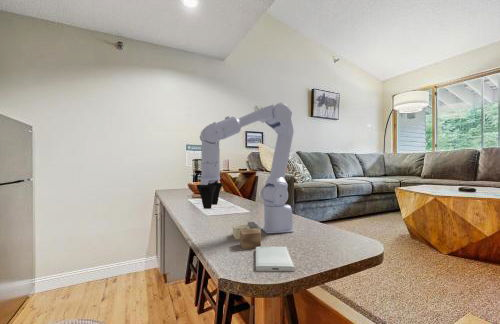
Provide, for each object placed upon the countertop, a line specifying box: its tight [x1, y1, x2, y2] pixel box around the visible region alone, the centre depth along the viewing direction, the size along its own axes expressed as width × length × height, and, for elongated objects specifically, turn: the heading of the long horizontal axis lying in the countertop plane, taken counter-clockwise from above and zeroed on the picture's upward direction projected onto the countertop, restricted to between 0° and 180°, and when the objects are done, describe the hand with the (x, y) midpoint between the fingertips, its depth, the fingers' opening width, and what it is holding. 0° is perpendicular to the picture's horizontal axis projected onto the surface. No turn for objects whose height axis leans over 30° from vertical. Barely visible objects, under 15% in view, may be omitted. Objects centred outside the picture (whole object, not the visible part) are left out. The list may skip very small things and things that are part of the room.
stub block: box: [239, 229, 262, 250], centre depth 64 cm, size 5×4×4 cm
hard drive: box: [255, 246, 296, 272], centre depth 54 cm, size 2×8×12 cm
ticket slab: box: [232, 221, 262, 240], centre depth 74 cm, size 8×6×4 cm
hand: (210, 206), depth 73 cm, fingers open, 7 cm apart
